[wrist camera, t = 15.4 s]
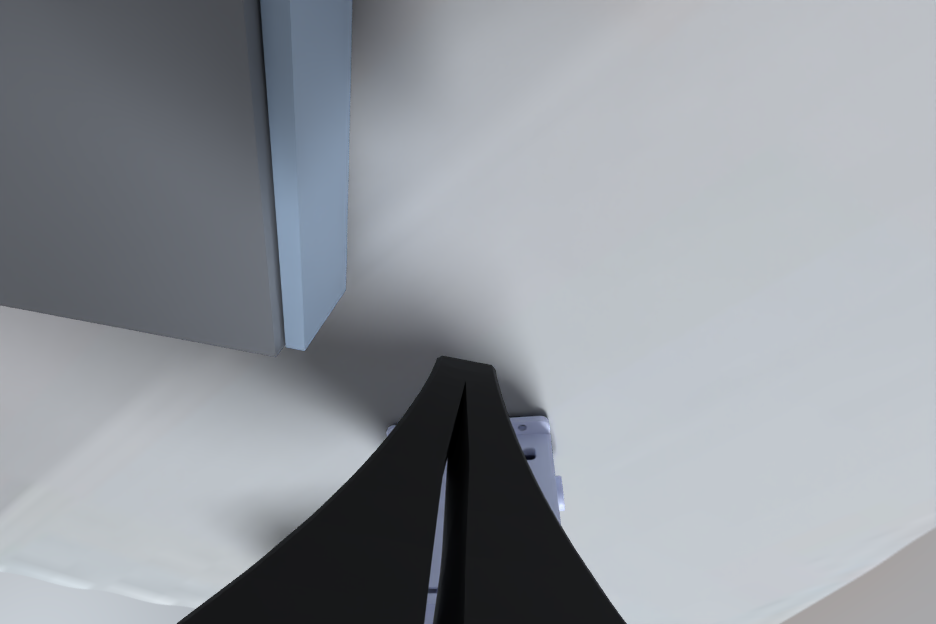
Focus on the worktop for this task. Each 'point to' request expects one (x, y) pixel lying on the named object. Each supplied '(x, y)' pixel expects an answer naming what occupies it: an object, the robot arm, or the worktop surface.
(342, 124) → the tray
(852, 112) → the worktop surface
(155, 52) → the box
